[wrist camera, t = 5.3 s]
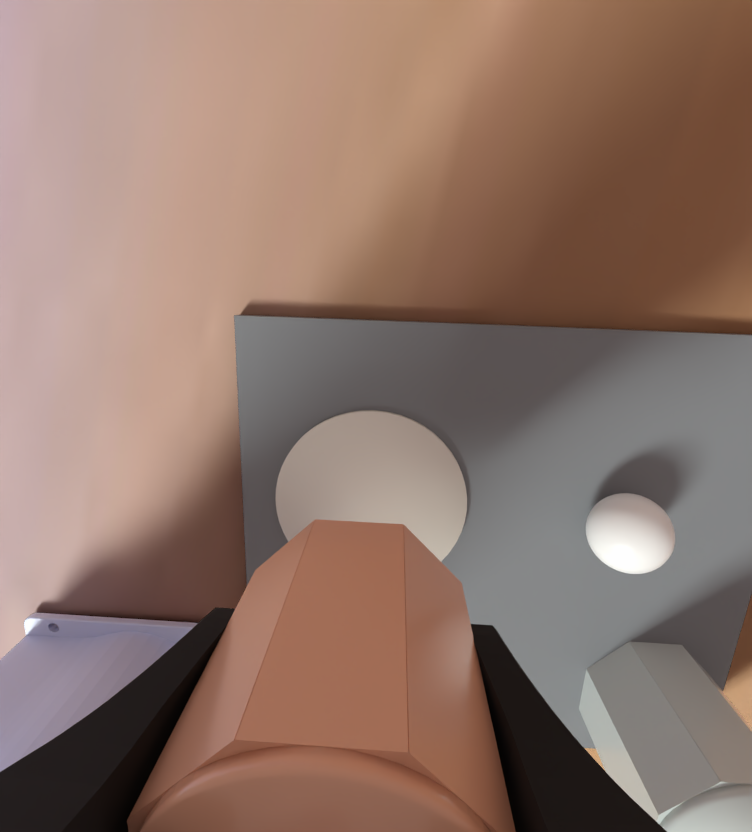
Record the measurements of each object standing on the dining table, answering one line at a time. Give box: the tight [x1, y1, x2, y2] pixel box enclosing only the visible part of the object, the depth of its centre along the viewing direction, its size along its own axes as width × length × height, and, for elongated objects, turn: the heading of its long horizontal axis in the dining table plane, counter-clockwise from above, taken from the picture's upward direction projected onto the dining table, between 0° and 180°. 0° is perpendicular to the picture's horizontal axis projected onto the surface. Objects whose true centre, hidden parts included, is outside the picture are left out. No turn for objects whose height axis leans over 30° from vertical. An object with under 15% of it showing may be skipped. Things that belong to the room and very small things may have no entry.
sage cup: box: [579, 641, 752, 832], centre depth 18 cm, size 6×6×6 cm
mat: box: [234, 315, 752, 749], centre depth 20 cm, size 22×20×1 cm
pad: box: [275, 410, 467, 561], centre depth 19 cm, size 8×8×1 cm
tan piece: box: [127, 519, 516, 832], centre depth 10 cm, size 6×6×6 cm
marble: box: [586, 493, 675, 574], centre depth 18 cm, size 3×3×3 cm
